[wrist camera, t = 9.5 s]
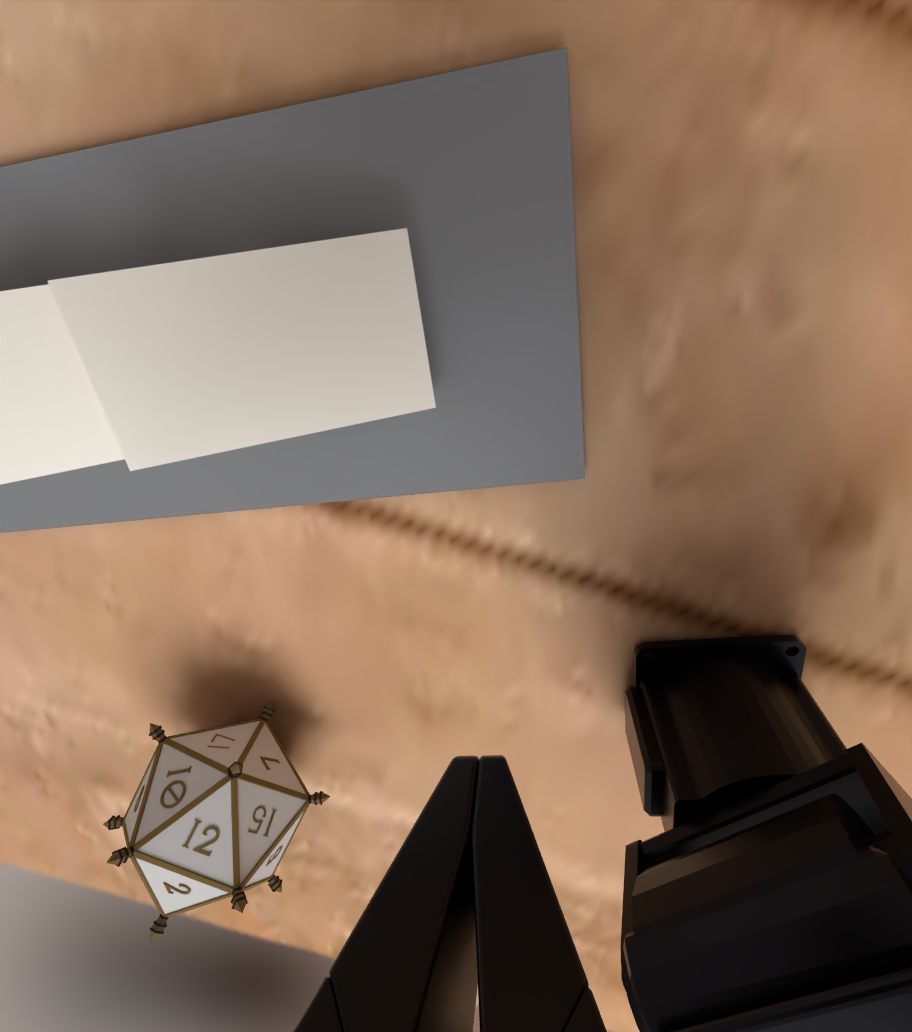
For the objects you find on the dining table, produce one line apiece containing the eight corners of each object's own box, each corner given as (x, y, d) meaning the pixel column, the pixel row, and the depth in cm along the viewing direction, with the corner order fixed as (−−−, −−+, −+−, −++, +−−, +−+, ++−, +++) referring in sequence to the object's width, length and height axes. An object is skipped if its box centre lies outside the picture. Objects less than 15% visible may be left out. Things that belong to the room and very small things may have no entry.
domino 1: (251, 254, 15) (-108, 307, 14) (298, 423, 17) (-8, 486, 16) (255, 256, 17) (-70, 304, 15) (298, 413, 19) (17, 469, 17)
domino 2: (406, 228, 15) (47, 280, 13) (435, 407, 17) (130, 471, 15) (397, 233, 16) (72, 280, 14) (425, 397, 18) (144, 455, 17)
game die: (286, 710, 32) (191, 904, 27) (158, 653, 27) (15, 881, 22) (390, 749, 26) (290, 1002, 22) (252, 685, 21) (83, 1004, 16)
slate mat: (565, 54, 14) (567, 47, 14) (583, 472, 19) (585, 478, 19) (-215, 218, 18) (-237, 217, 18) (-28, 530, 23) (-40, 536, 23)
